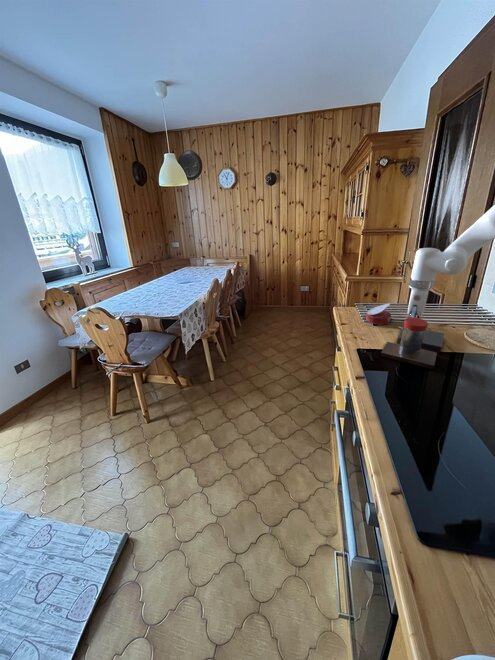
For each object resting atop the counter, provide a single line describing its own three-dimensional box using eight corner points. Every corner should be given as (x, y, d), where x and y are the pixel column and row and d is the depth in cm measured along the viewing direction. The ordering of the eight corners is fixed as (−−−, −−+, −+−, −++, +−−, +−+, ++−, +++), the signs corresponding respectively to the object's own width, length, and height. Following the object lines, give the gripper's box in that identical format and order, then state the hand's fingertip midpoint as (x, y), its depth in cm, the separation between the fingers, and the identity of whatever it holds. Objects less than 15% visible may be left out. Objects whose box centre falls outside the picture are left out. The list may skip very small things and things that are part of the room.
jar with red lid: (421, 350, 99) (429, 319, 94) (418, 359, 94) (426, 327, 89) (400, 346, 103) (406, 316, 97) (396, 354, 98) (403, 323, 92)
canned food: (377, 334, 124) (372, 318, 118) (363, 322, 132) (358, 307, 126) (400, 319, 123) (396, 303, 117) (384, 309, 131) (380, 293, 125)
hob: (443, 337, 109) (445, 331, 108) (440, 353, 100) (442, 346, 98) (399, 328, 117) (400, 322, 116) (392, 342, 108) (393, 336, 107)
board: (436, 356, 98) (437, 352, 97) (433, 369, 92) (434, 365, 91) (386, 344, 107) (387, 341, 106) (380, 356, 100) (381, 352, 100)
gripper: (430, 292, 94) (419, 339, 102) (435, 278, 106) (425, 321, 115) (405, 289, 98) (396, 334, 106) (413, 275, 110) (404, 317, 119)
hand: (411, 327), depth 110 cm, fingers open, 5 cm apart
